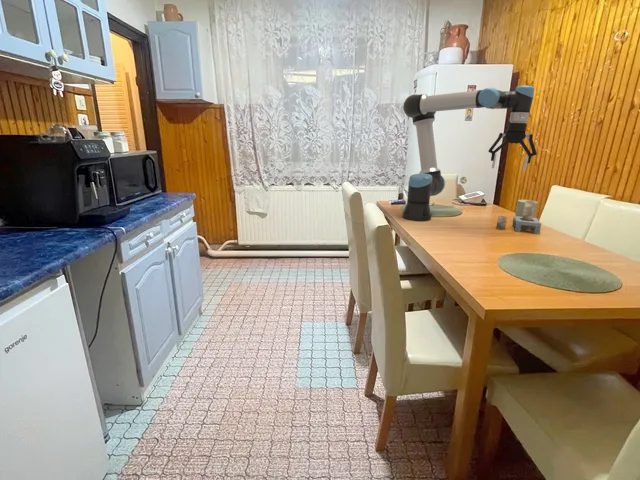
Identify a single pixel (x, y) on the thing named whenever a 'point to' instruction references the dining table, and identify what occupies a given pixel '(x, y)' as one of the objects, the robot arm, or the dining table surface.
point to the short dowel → (501, 222)
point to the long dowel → (528, 214)
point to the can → (521, 208)
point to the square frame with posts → (533, 224)
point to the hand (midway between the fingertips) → (508, 169)
